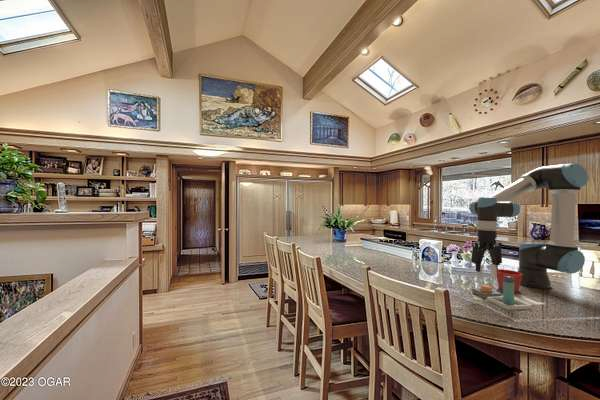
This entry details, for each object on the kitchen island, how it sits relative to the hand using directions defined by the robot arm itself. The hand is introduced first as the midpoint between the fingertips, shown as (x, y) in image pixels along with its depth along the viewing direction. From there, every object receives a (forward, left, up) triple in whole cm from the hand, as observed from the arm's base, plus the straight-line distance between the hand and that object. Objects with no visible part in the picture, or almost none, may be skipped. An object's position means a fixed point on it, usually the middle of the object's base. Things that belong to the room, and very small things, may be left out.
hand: (486, 278), depth 128 cm
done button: (0, 0, -7) cm, 7 cm away
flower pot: (-19, -8, -9) cm, 23 cm away
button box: (0, 0, -9) cm, 9 cm away
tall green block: (-1, +11, -8) cm, 14 cm away
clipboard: (-13, +6, -9) cm, 17 cm away
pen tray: (-1, +11, -9) cm, 14 cm away
